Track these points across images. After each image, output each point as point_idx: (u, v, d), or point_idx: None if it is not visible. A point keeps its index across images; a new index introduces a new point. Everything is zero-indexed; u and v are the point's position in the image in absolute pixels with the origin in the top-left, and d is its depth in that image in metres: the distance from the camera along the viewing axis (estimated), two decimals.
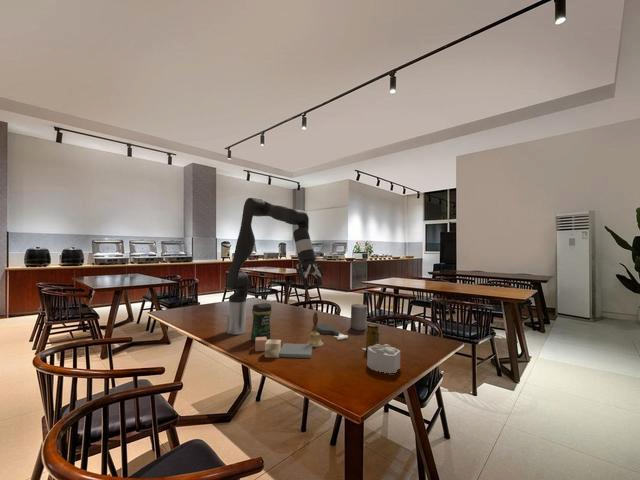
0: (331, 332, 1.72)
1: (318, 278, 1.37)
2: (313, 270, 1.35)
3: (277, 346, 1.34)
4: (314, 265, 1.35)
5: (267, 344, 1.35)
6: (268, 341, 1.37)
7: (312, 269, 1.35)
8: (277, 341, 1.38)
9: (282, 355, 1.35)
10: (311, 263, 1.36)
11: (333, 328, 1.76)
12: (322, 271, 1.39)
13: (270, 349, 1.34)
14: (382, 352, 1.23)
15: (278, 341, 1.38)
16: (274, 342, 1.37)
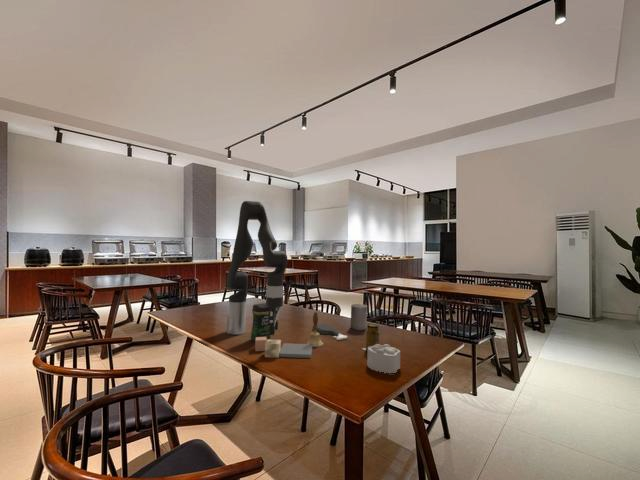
0: (331, 332, 1.71)
1: (276, 322, 1.41)
2: None
3: (277, 346, 1.34)
4: None
5: (267, 344, 1.35)
6: (268, 341, 1.37)
7: None
8: (277, 341, 1.38)
9: (282, 355, 1.35)
10: (277, 308, 1.38)
11: (333, 328, 1.76)
12: None
13: (270, 349, 1.34)
14: (382, 352, 1.23)
15: (278, 341, 1.38)
16: (274, 342, 1.37)
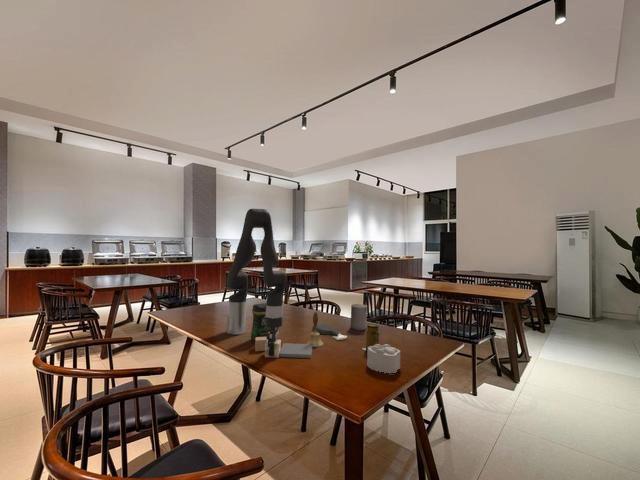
0: (330, 332, 1.71)
1: None
2: None
3: (277, 346, 1.34)
4: (278, 330, 1.39)
5: (267, 344, 1.35)
6: None
7: None
8: (277, 341, 1.38)
9: (282, 355, 1.35)
10: (276, 328, 1.38)
11: (333, 328, 1.76)
12: None
13: None
14: (382, 352, 1.23)
15: (278, 341, 1.38)
16: None
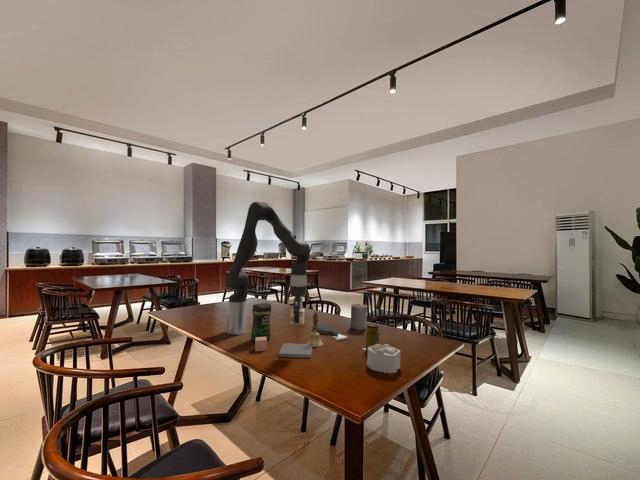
0: (330, 332, 1.71)
1: None
2: None
3: (302, 314, 1.39)
4: (302, 300, 1.44)
5: (292, 311, 1.40)
6: (293, 309, 1.42)
7: (300, 303, 1.43)
8: (301, 309, 1.43)
9: (282, 355, 1.35)
10: (300, 297, 1.43)
11: (333, 328, 1.75)
12: None
13: None
14: (382, 352, 1.23)
15: (302, 309, 1.43)
16: None
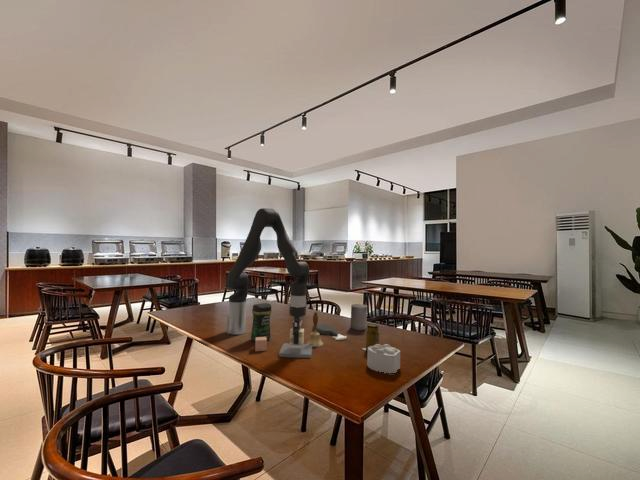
0: (330, 332, 1.71)
1: None
2: None
3: (301, 334, 1.39)
4: (301, 320, 1.44)
5: (292, 332, 1.39)
6: (292, 330, 1.42)
7: None
8: (301, 330, 1.43)
9: (282, 355, 1.35)
10: None
11: (333, 328, 1.75)
12: None
13: None
14: (382, 352, 1.23)
15: (302, 330, 1.43)
16: None
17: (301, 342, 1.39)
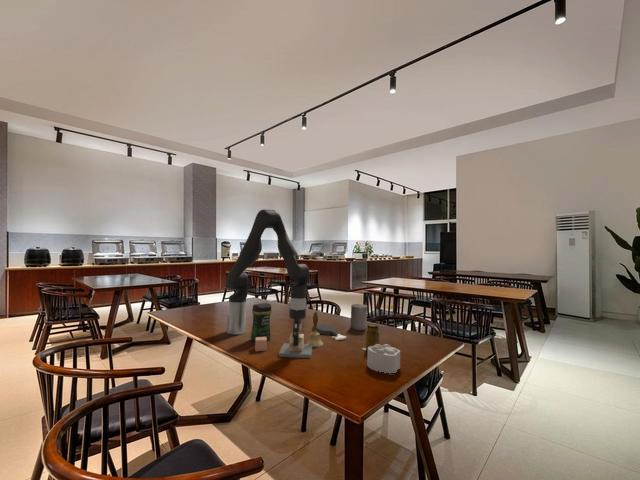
0: (330, 332, 1.71)
1: None
2: None
3: (301, 340, 1.39)
4: (301, 322, 1.44)
5: (291, 338, 1.39)
6: (292, 335, 1.42)
7: None
8: (300, 335, 1.43)
9: (282, 355, 1.35)
10: (300, 320, 1.43)
11: (332, 328, 1.75)
12: None
13: None
14: (382, 352, 1.23)
15: (301, 335, 1.43)
16: None
17: (301, 347, 1.39)
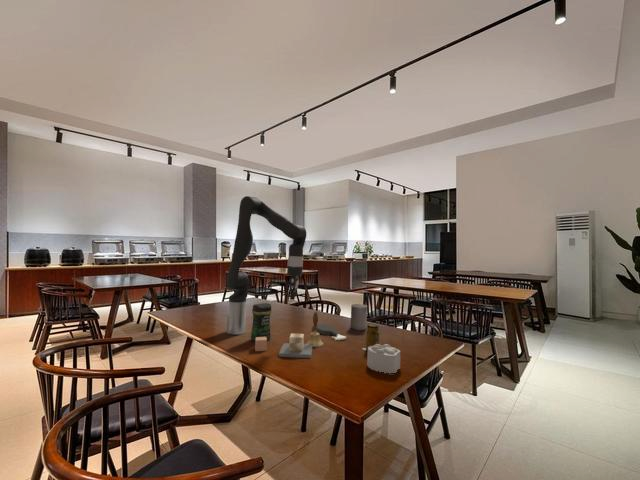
0: (330, 333, 1.71)
1: (295, 289, 1.57)
2: (296, 283, 1.54)
3: (301, 340, 1.39)
4: (298, 279, 1.54)
5: (291, 338, 1.39)
6: (292, 335, 1.42)
7: (296, 282, 1.53)
8: (300, 335, 1.43)
9: (282, 355, 1.35)
10: None
11: (332, 329, 1.75)
12: None
13: (294, 343, 1.39)
14: (382, 352, 1.23)
15: (301, 335, 1.43)
16: (298, 335, 1.42)
17: (301, 347, 1.39)
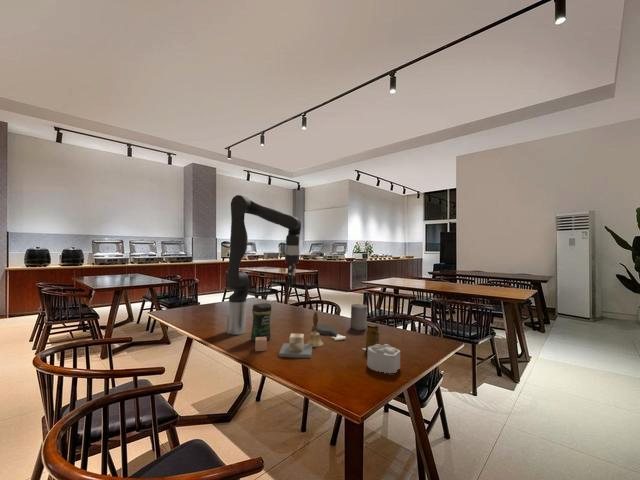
0: (329, 333, 1.70)
1: (292, 277, 1.69)
2: (293, 271, 1.66)
3: (301, 340, 1.39)
4: (295, 267, 1.66)
5: (291, 338, 1.39)
6: (292, 335, 1.42)
7: (293, 270, 1.65)
8: (300, 335, 1.43)
9: (282, 355, 1.35)
10: (294, 265, 1.66)
11: (332, 329, 1.75)
12: None
13: (294, 343, 1.39)
14: (382, 352, 1.23)
15: (301, 335, 1.43)
16: (298, 335, 1.42)
17: (301, 347, 1.39)
